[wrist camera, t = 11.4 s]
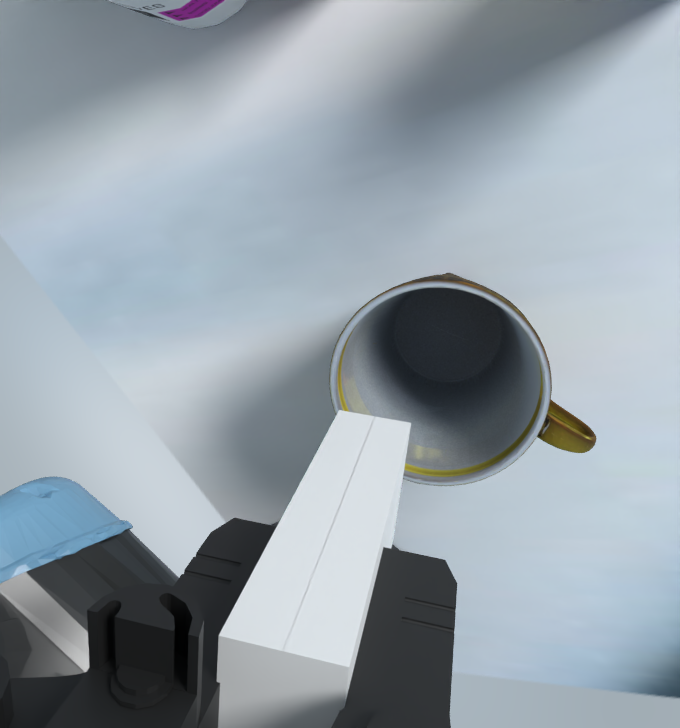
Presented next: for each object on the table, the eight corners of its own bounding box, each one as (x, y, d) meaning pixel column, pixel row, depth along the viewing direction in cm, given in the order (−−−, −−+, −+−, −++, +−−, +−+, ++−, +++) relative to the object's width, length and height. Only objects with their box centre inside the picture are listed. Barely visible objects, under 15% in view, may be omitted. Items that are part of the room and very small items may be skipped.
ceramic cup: (341, 367, 41) (299, 434, 31) (403, 217, 37) (376, 243, 28) (533, 452, 40) (548, 546, 31) (617, 307, 36) (662, 365, 27)
